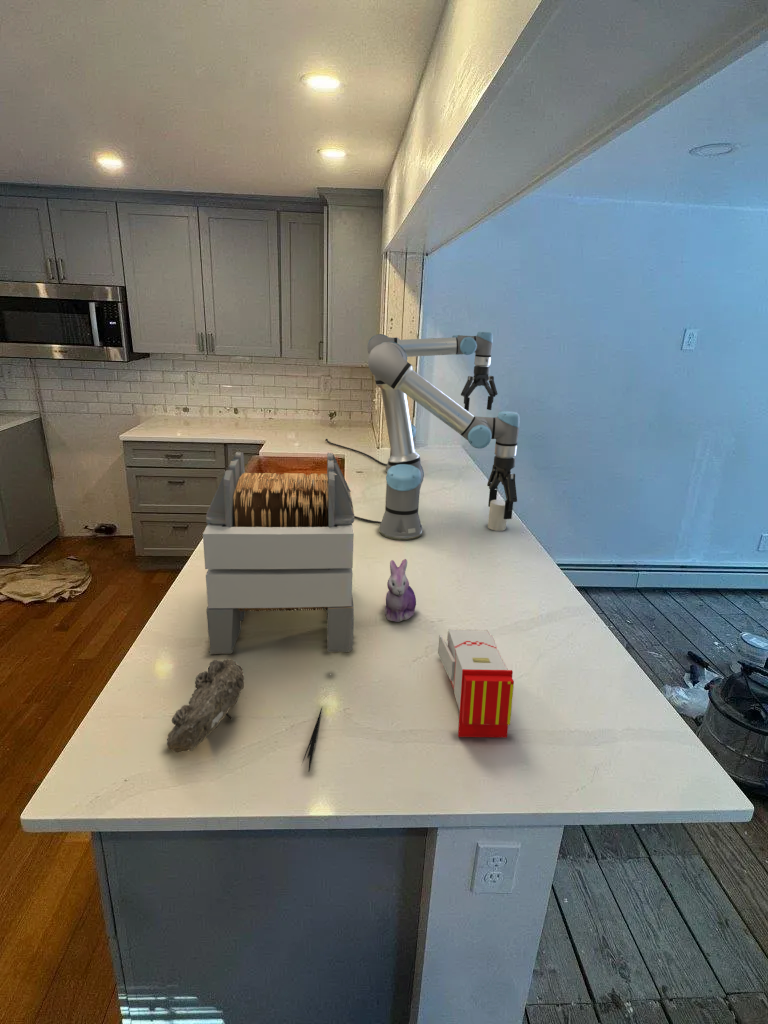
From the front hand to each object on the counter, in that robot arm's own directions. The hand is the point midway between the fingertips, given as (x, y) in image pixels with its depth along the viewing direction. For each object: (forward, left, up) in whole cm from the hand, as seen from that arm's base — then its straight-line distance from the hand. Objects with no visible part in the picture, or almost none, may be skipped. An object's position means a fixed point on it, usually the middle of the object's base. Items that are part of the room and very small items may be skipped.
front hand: (499, 512), depth 208 cm
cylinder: (0, 0, -6) cm, 6 cm away
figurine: (+25, -72, -6) cm, 76 cm away
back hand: (-61, +56, +23) cm, 86 cm away
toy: (+58, -81, -6) cm, 100 cm away
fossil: (+32, -127, -6) cm, 131 cm away
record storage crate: (+9, -96, -6) cm, 97 cm away
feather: (+45, -111, -6) cm, 120 cm away
